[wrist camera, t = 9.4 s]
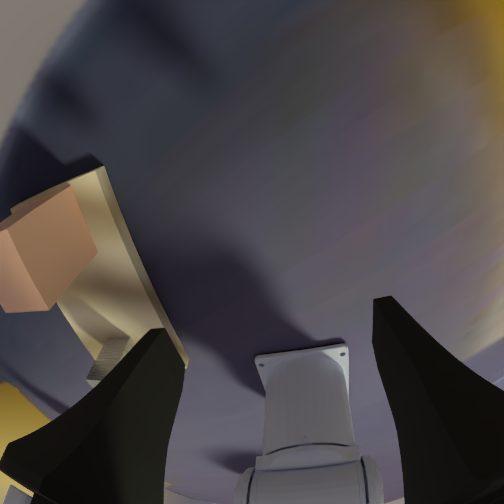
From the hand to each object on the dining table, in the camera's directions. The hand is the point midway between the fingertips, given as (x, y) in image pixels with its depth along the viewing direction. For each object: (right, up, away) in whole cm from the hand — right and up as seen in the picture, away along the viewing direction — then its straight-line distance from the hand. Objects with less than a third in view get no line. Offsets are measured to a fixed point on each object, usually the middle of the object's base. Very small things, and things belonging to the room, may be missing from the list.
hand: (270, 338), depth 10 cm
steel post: (-12, -6, +15) cm, 20 cm away
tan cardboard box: (-15, +5, +9) cm, 18 cm away
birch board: (-13, 0, +13) cm, 18 cm away
